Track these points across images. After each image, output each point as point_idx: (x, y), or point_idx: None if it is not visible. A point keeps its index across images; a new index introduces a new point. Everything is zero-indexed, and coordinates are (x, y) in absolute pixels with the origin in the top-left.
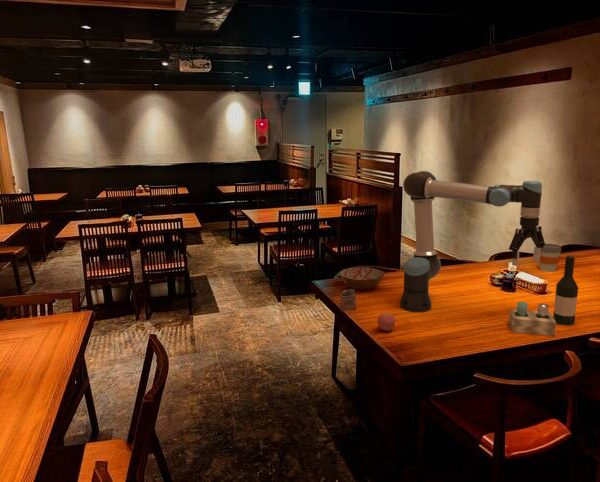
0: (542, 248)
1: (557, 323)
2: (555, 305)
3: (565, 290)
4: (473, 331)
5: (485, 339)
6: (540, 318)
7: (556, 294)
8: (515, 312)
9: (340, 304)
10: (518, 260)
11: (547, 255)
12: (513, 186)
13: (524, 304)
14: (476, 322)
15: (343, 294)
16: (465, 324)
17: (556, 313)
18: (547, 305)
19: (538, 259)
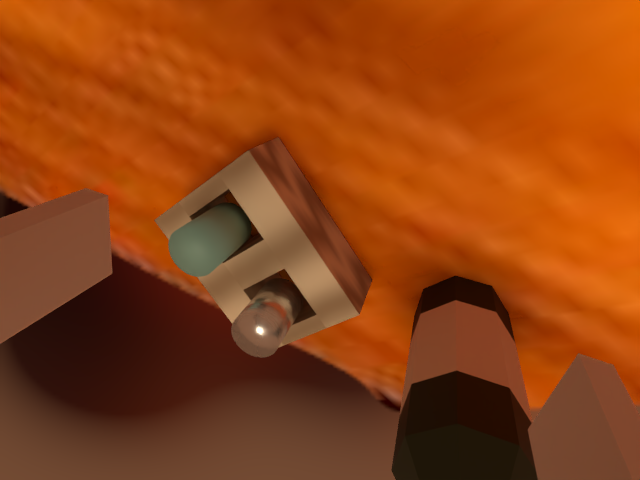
0: None
1: (419, 301)
2: (431, 332)
3: (394, 457)
4: (78, 85)
5: (70, 159)
6: (247, 302)
7: (430, 377)
8: (232, 192)
9: None
10: (34, 317)
11: None
12: None
13: (185, 265)
14: (153, 29)
15: None
16: (96, 8)
17: (418, 319)
18: (263, 351)
19: (538, 474)
